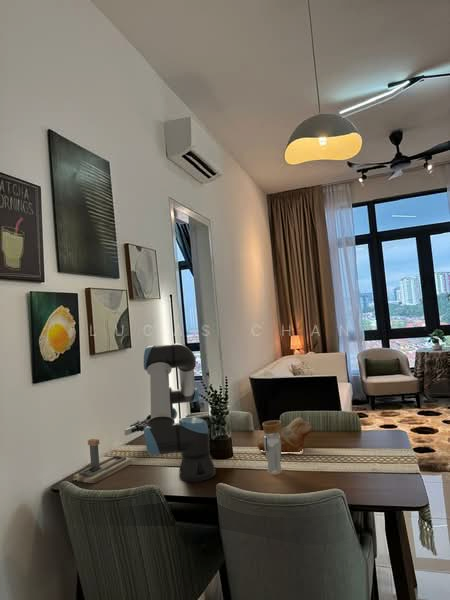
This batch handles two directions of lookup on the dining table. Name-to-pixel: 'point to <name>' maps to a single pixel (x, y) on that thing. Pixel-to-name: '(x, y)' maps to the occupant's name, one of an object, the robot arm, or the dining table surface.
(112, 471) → the fader console
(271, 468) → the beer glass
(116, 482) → the dining table surface
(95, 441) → the fader lever
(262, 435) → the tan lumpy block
